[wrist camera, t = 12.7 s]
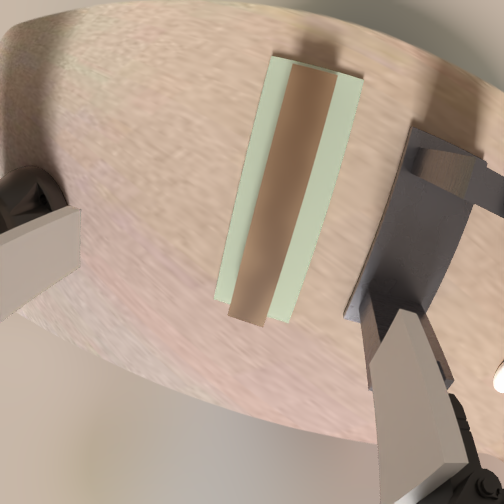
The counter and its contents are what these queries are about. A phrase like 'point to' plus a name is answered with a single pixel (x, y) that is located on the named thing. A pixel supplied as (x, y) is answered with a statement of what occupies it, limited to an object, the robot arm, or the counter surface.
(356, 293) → the rack
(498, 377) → the candle
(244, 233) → the mat
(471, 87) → the counter surface
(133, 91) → the counter surface
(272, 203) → the rail
